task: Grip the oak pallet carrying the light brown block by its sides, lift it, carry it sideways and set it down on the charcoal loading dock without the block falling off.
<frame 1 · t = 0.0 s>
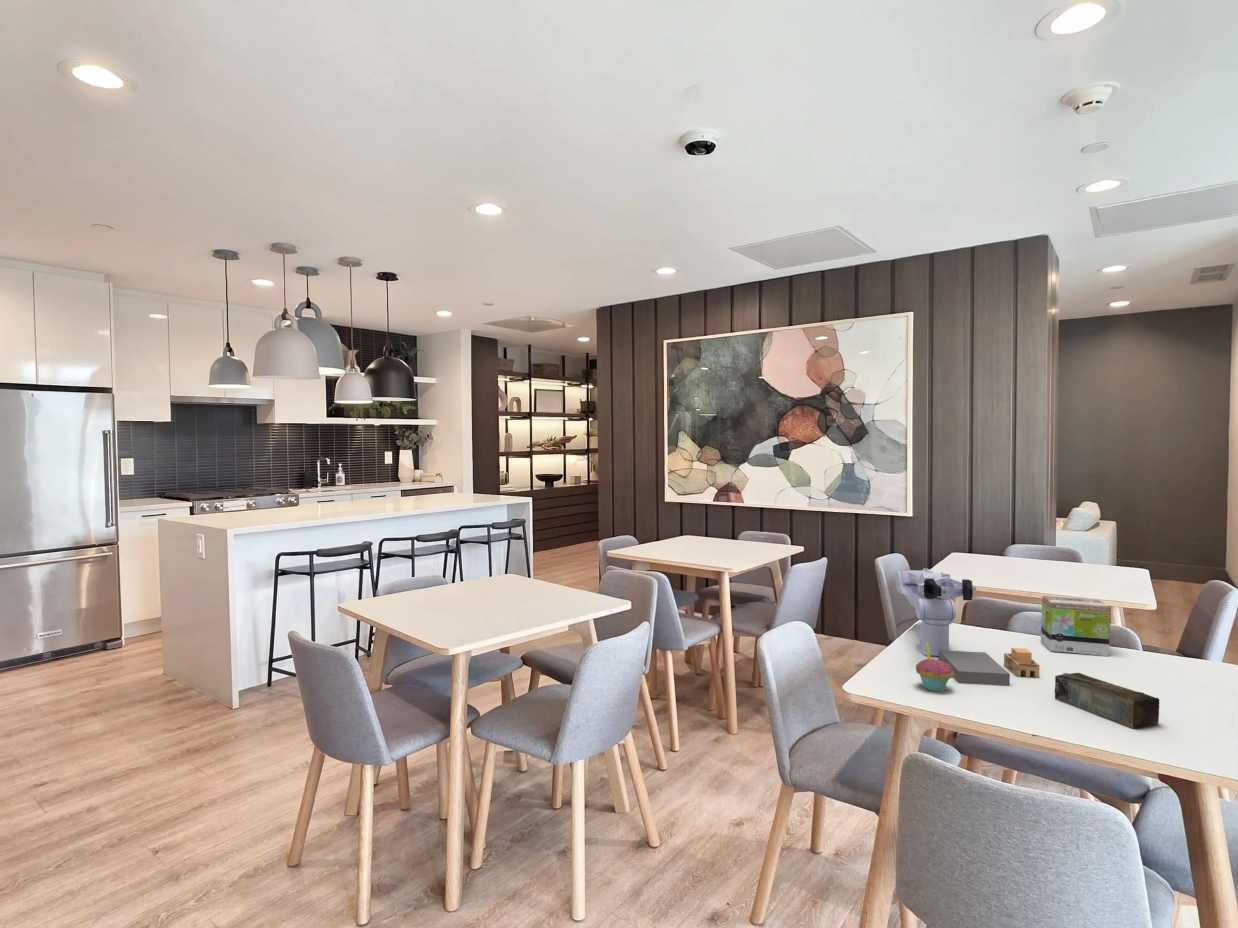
hand: (955, 592, 182), 22 cm above the table, tool horizontal, fingers open, 7 cm apart
cupcake: (934, 688, 172), on the table
beverage carton: (1104, 713, 157), on the table
pallet: (1021, 672, 184), on the table
light brown block: (1021, 661, 184), point 3 cm above the table
dock: (972, 672, 183), on the table
tea box: (1074, 650, 203), on the table
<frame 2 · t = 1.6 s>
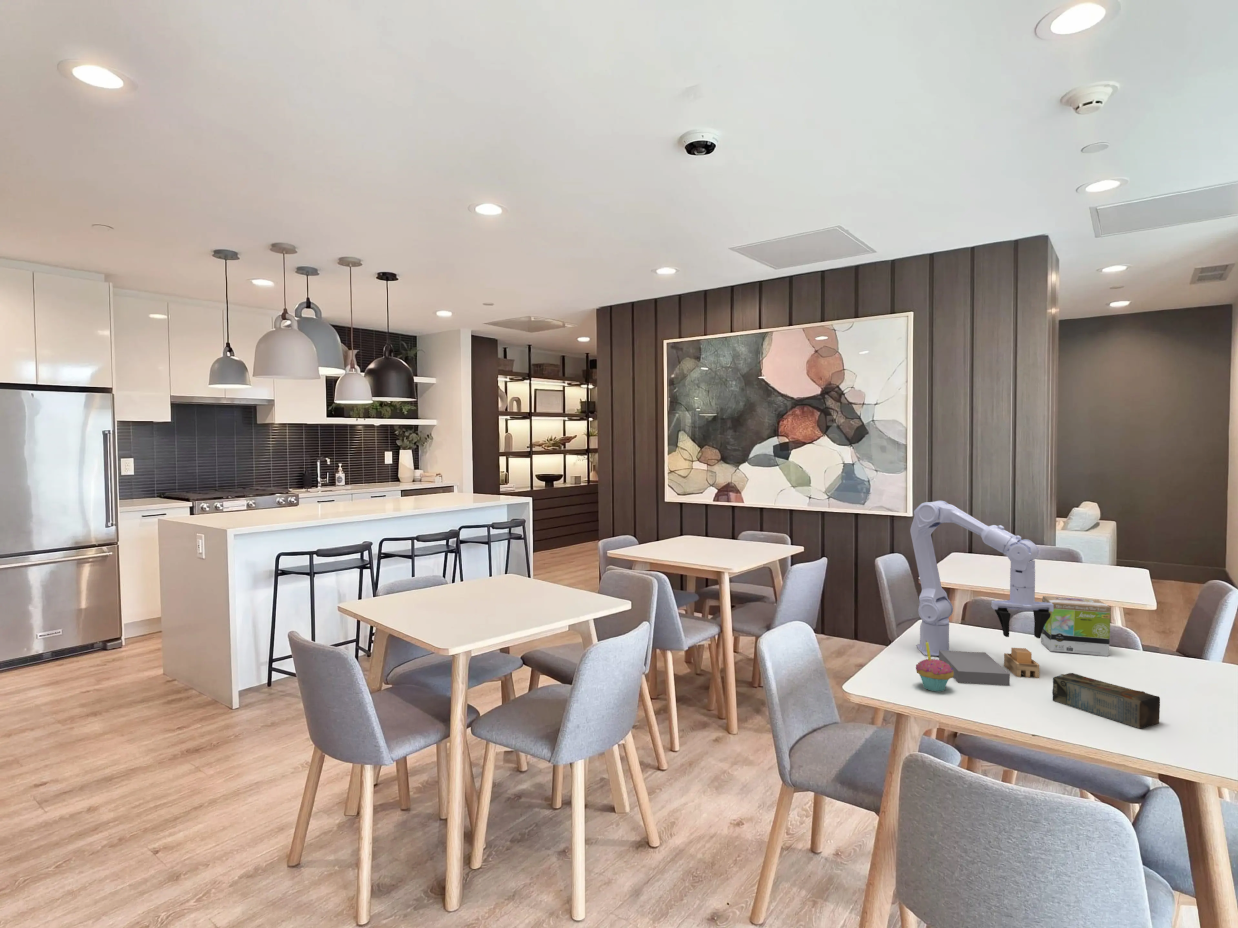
hand: (1021, 636, 184), 9 cm above the table, tool pointing down, fingers open, 7 cm apart
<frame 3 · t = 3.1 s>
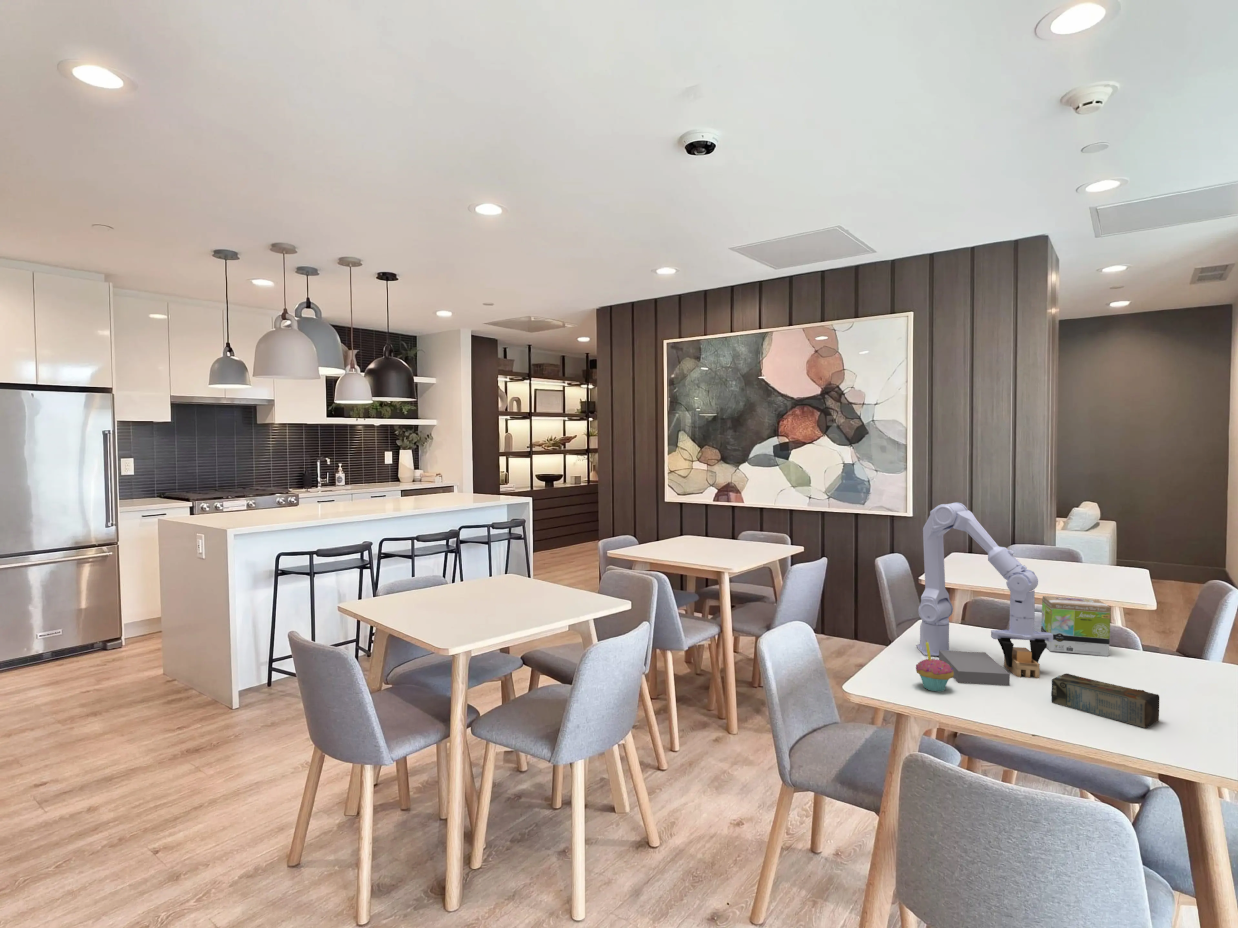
hand: (1021, 666, 184), 1 cm above the table, tool pointing down, fingers closed on pallet, 5 cm apart
pallet: (1021, 671, 184), on the table, touching light brown block, gripper
light brown block: (1021, 660, 184), point 3 cm above the table, touching pallet
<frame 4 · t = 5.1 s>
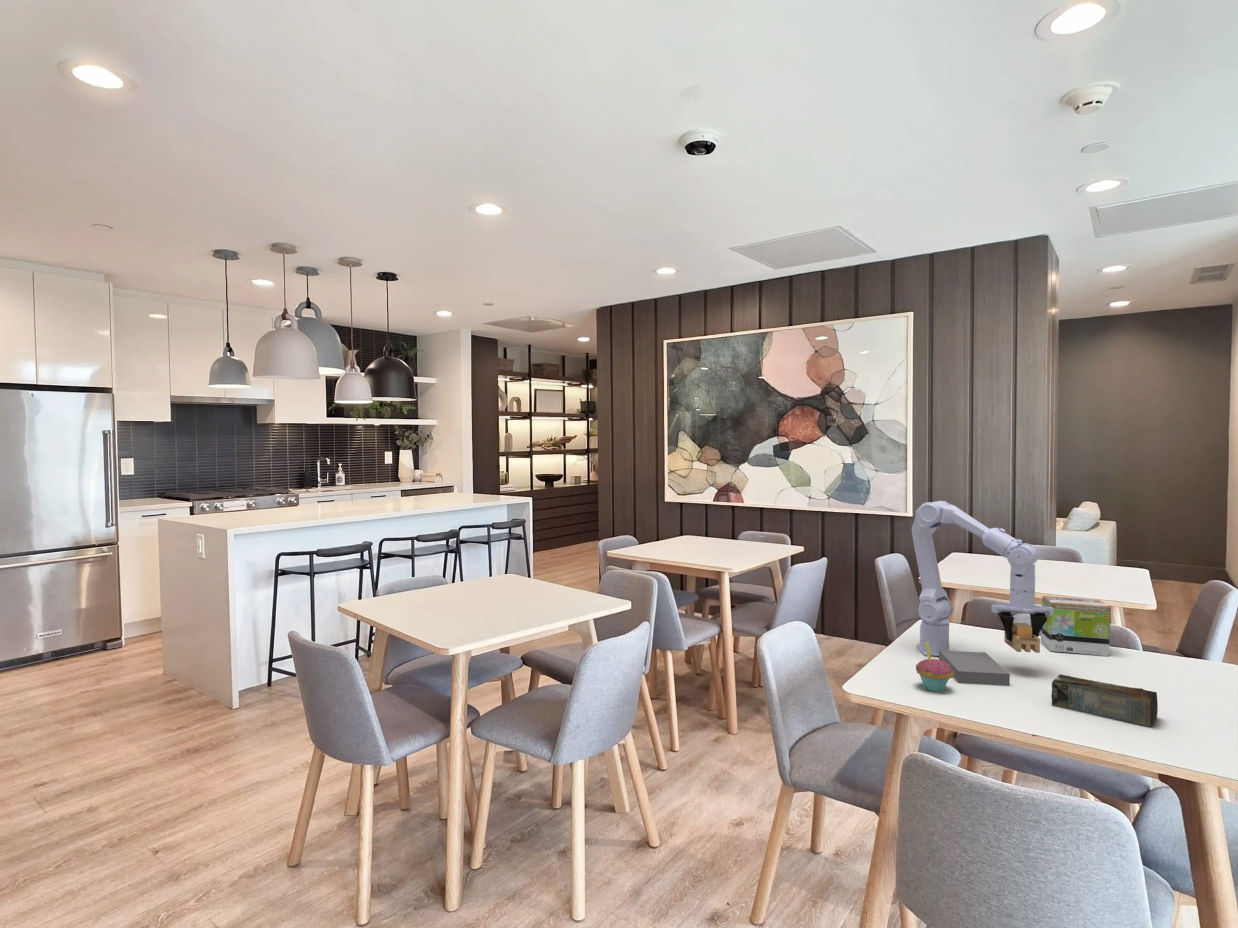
hand: (1021, 640, 184), 8 cm above the table, tool pointing down, fingers closed on pallet, 5 cm apart
pallet: (1021, 647, 184), point 7 cm above the table, touching light brown block, gripper
light brown block: (1021, 635, 184), point 10 cm above the table, touching pallet
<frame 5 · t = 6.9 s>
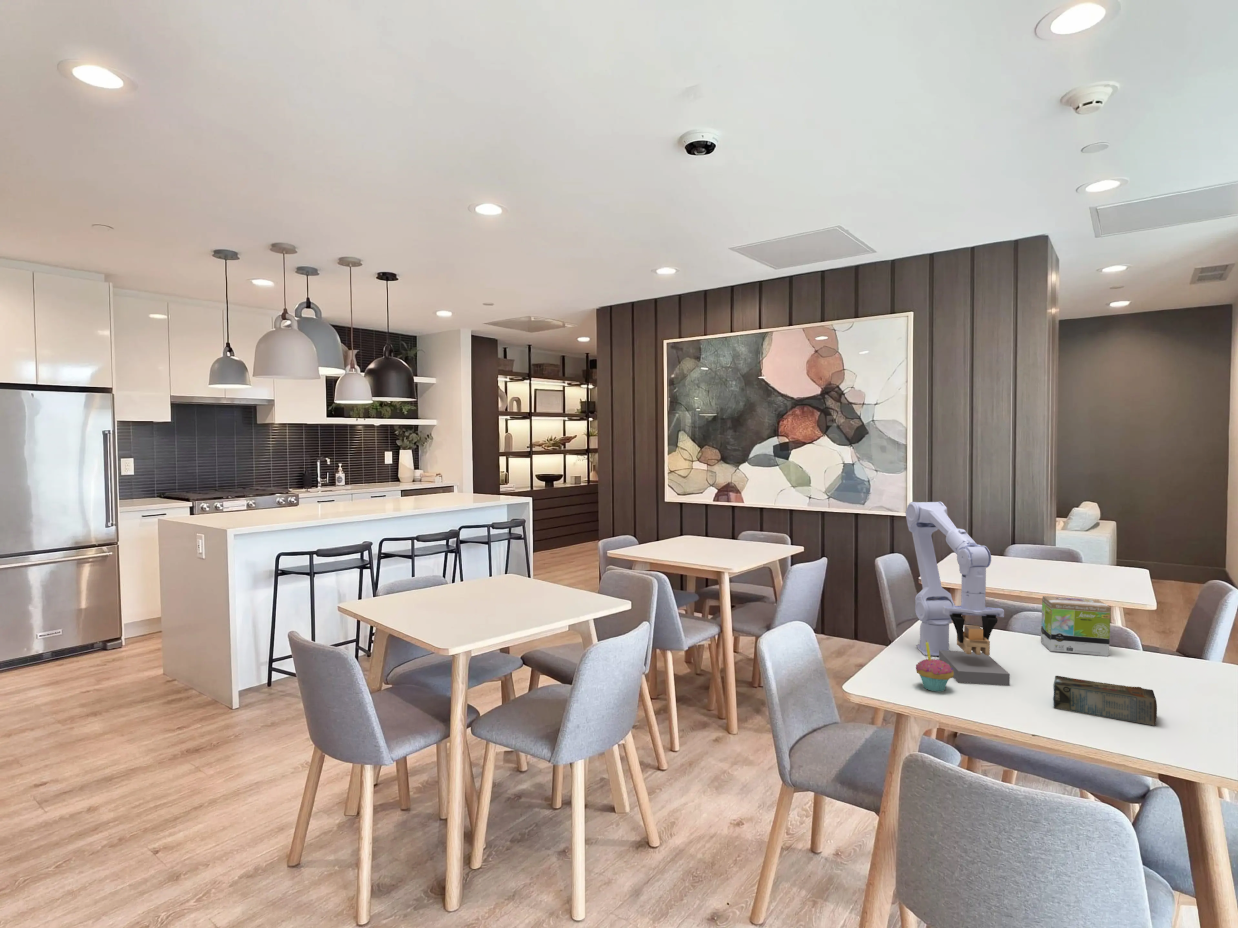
hand: (972, 642, 183), 8 cm above the table, tool pointing down, fingers closed on pallet, 5 cm apart
pallet: (972, 649, 183), point 6 cm above the table, touching light brown block, gripper
light brown block: (973, 638, 183), point 9 cm above the table, touching pallet
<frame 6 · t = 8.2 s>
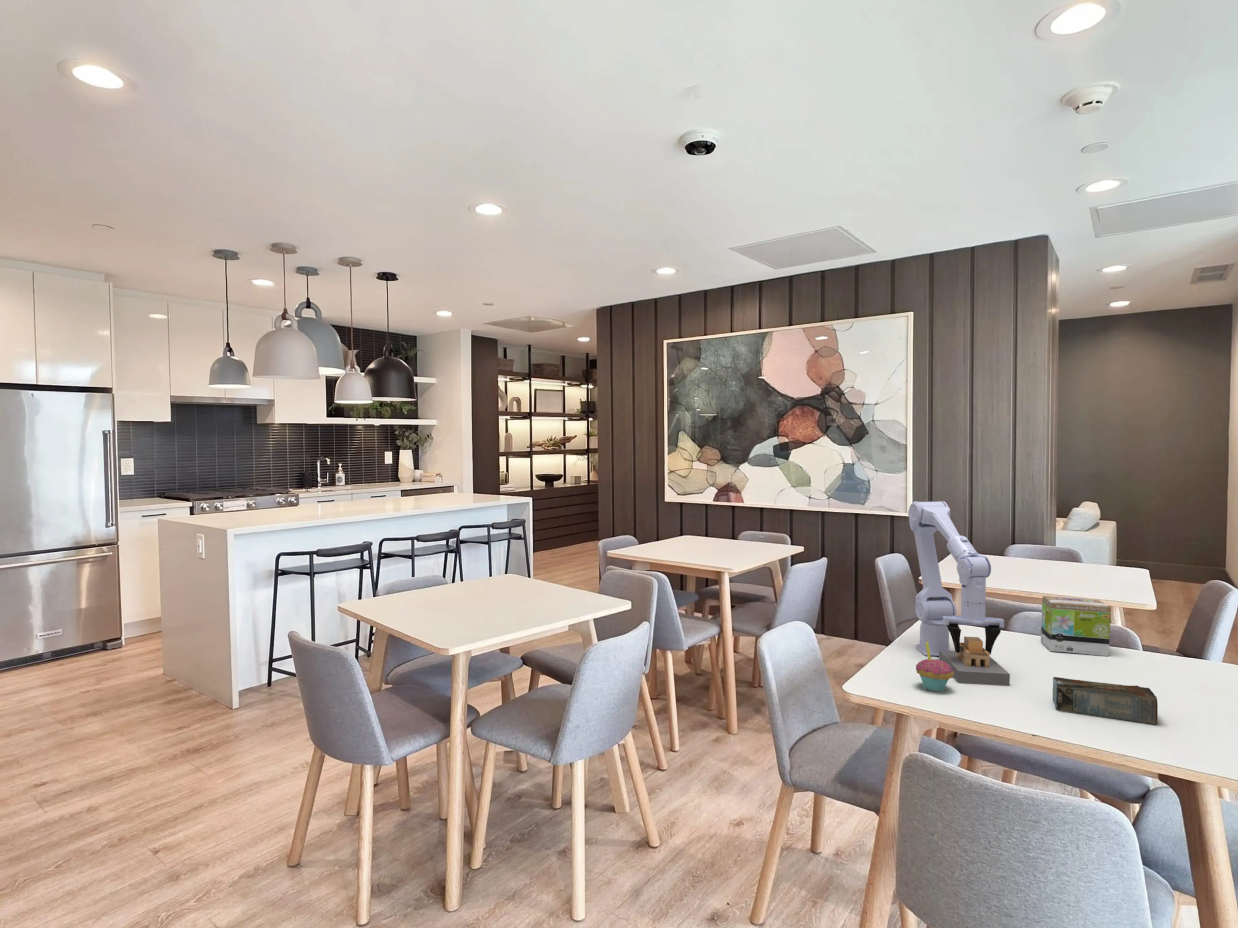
hand: (972, 652, 183), 5 cm above the table, tool pointing down, fingers open, 7 cm apart
pallet: (972, 661, 183), point 3 cm above the table, touching light brown block, dock
light brown block: (973, 650, 183), point 6 cm above the table, touching pallet
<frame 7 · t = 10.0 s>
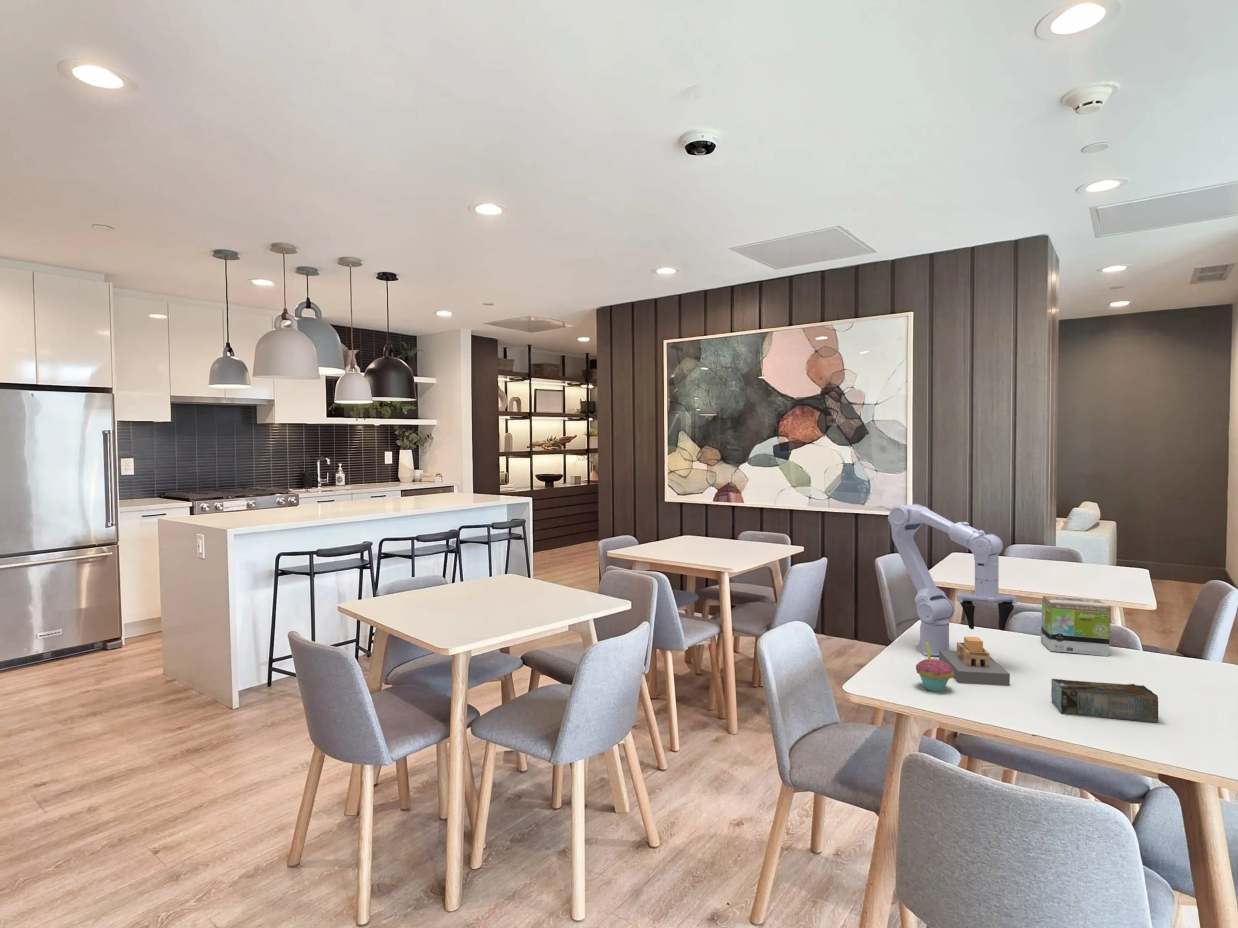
hand: (986, 628, 188), 10 cm above the table, tool pointing down, fingers open, 7 cm apart
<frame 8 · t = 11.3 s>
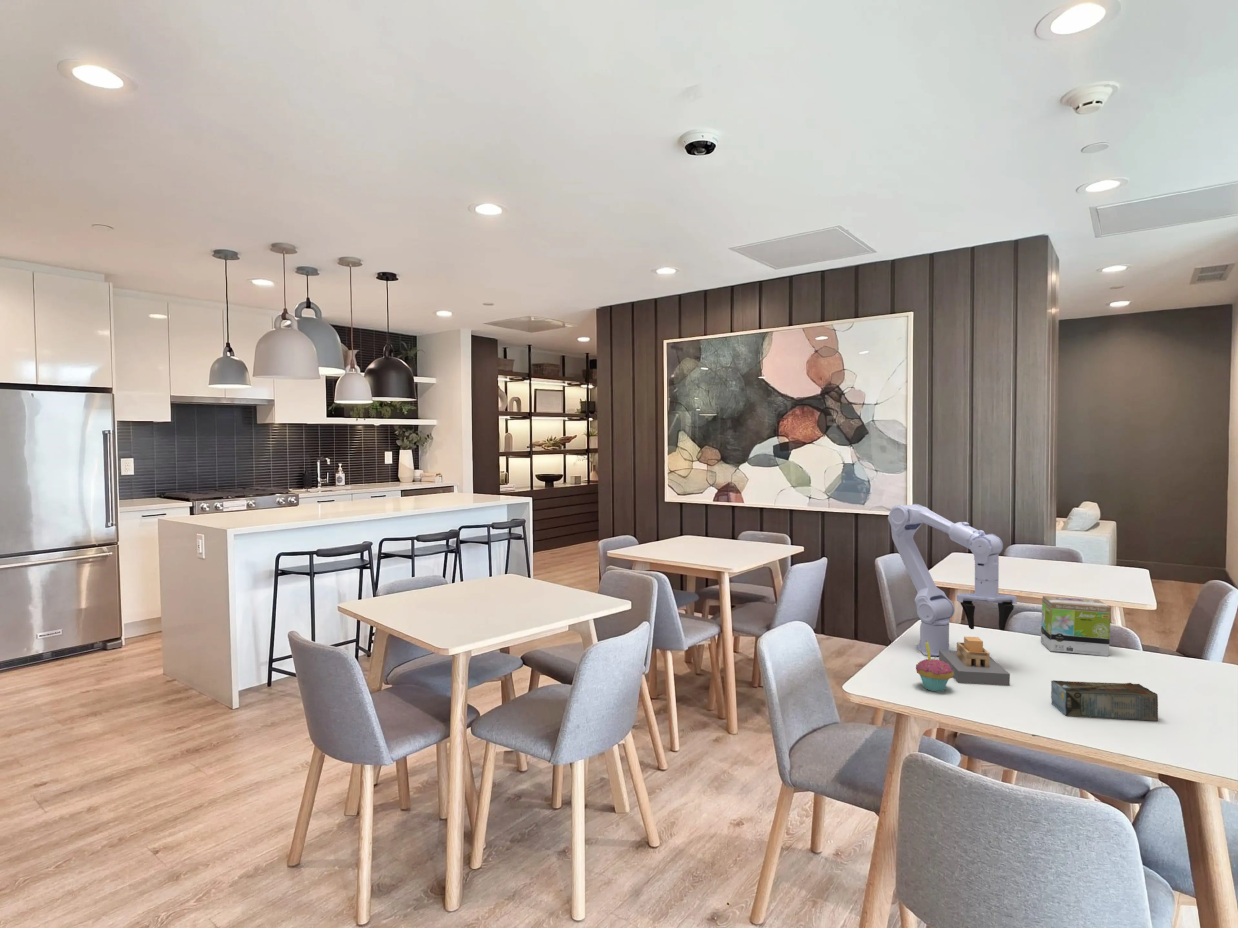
hand: (986, 628, 188), 10 cm above the table, tool pointing down, fingers open, 7 cm apart
at the end: pallet inside the target area on the dock (0.0 cm from its centre), point 3.0 cm above the dock's base; light brown block 0.2 cm from the pallet (horizontally); light brown block point 6.0 cm above the table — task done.
